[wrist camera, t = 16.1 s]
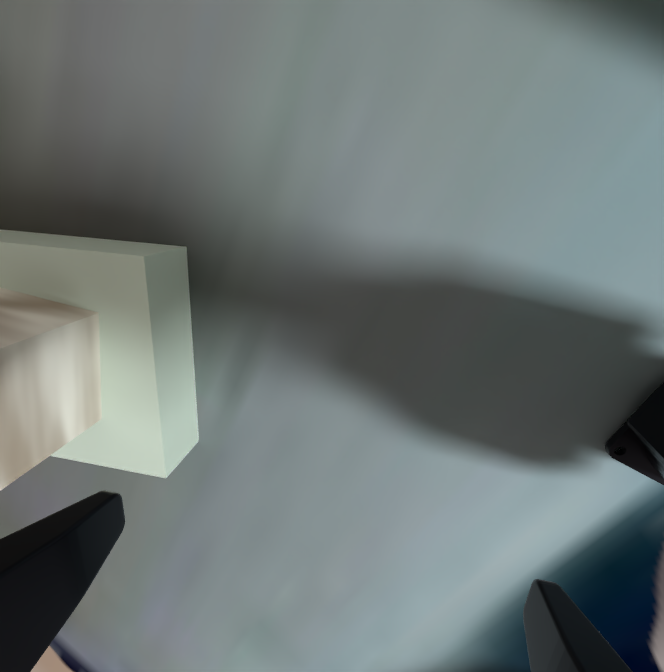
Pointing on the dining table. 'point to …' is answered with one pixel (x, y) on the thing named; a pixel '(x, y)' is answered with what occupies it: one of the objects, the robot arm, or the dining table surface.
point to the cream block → (44, 379)
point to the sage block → (121, 340)
